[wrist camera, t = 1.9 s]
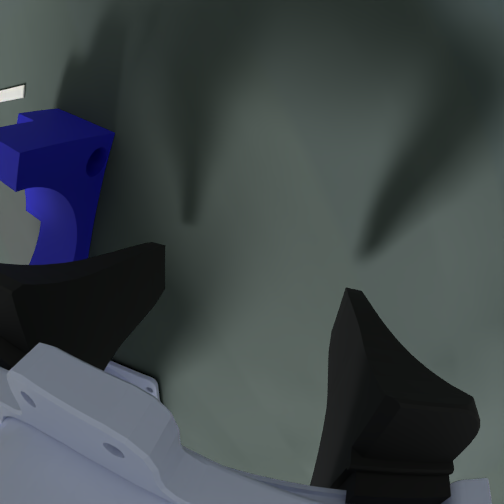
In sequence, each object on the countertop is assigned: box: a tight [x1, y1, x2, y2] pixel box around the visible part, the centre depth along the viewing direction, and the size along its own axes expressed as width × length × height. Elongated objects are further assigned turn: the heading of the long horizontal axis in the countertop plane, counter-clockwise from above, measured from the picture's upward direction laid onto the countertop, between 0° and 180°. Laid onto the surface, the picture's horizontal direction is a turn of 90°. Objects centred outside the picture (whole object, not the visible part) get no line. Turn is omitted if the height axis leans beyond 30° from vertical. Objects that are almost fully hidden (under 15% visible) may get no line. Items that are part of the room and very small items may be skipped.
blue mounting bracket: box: [0, 109, 115, 265], centre depth 14 cm, size 12×4×6 cm, turn 156°
